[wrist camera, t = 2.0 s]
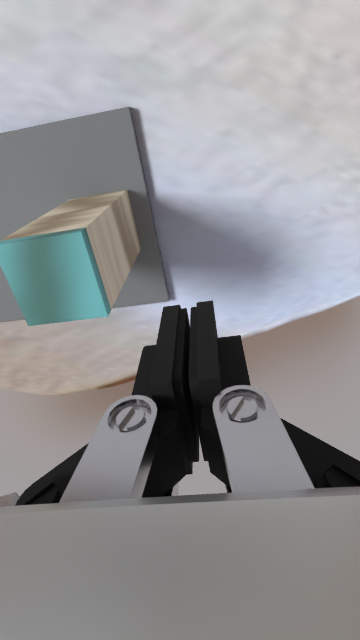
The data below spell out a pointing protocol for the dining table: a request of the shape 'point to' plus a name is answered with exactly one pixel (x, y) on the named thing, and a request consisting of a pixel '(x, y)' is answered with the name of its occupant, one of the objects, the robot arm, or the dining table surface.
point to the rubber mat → (79, 189)
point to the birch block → (72, 259)
